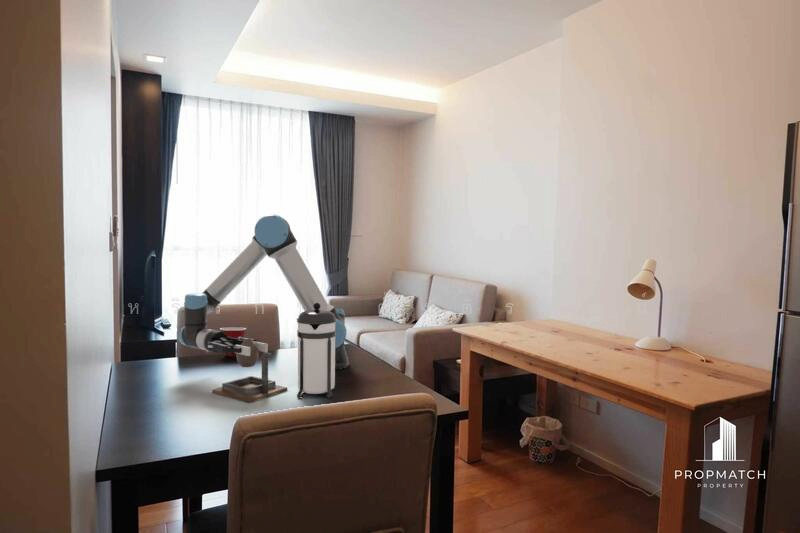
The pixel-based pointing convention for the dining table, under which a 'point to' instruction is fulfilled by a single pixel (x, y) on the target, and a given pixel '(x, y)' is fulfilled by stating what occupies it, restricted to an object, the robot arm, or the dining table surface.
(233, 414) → the dining table surface
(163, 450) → the dining table surface
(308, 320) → the coffee press
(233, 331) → the plastic cup
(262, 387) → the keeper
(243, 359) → the vase
